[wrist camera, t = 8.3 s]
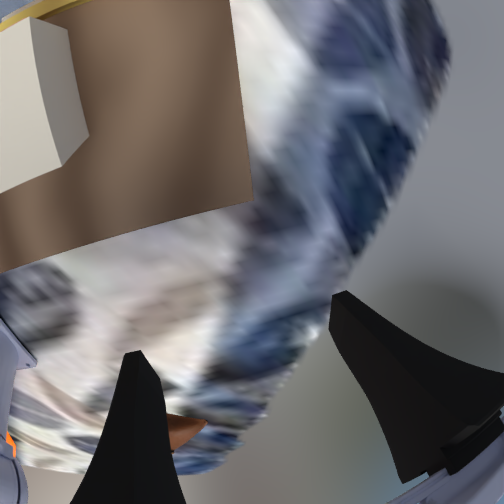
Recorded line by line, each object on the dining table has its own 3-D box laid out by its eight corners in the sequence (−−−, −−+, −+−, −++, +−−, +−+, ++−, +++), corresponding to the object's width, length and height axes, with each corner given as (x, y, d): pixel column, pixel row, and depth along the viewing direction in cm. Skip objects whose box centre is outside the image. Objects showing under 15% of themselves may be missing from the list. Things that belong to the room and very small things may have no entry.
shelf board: (0, 269, 15) (-8, 283, 14) (-68, 78, 7) (-82, 82, 5) (251, 196, 18) (258, 207, 17) (221, -39, 10) (228, -49, 8)
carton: (26, 161, 12) (-15, 201, 8) (1, 58, 8) (-52, 63, 4) (89, 135, 13) (62, 166, 9) (66, 25, 9) (28, 10, 5)
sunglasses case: (151, 459, 39) (137, 488, 32) (116, 435, 38) (98, 463, 32) (212, 419, 34) (199, 457, 27) (166, 387, 33) (146, 424, 27)
